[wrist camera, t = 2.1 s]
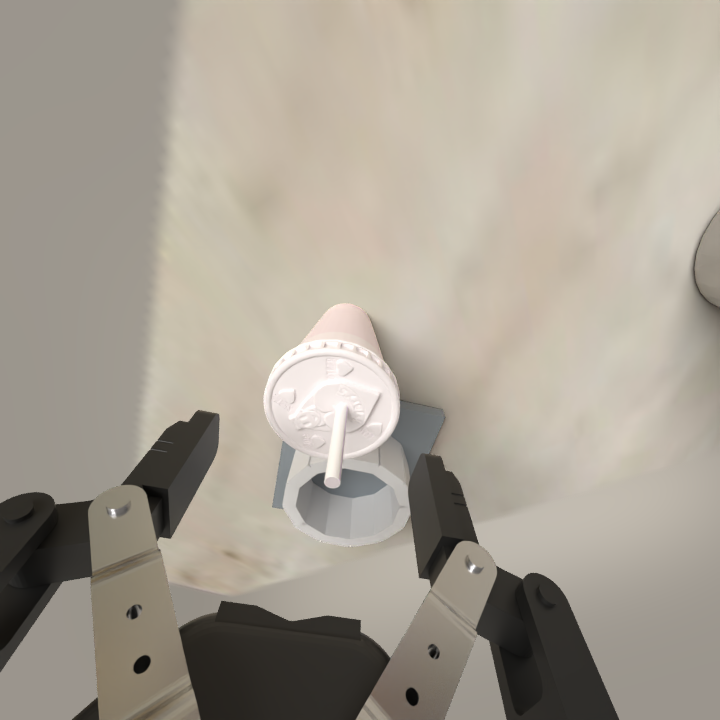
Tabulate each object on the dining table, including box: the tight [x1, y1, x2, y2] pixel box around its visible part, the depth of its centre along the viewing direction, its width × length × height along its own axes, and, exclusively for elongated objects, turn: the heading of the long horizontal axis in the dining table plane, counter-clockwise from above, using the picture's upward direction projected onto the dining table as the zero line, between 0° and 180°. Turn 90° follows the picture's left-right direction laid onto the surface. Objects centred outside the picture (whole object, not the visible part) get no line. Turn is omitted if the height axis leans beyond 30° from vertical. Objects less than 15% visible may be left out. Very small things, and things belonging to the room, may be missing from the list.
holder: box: [272, 401, 445, 547], centre depth 28 cm, size 12×14×5 cm
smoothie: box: [264, 303, 400, 488], centre depth 18 cm, size 6×6×14 cm
